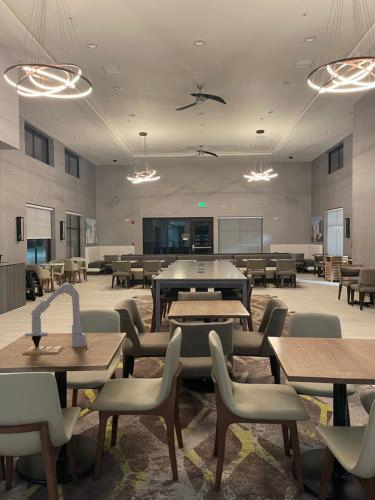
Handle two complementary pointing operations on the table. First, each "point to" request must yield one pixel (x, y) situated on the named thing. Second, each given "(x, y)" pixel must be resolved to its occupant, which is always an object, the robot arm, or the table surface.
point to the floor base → (41, 352)
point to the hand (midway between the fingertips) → (36, 347)
